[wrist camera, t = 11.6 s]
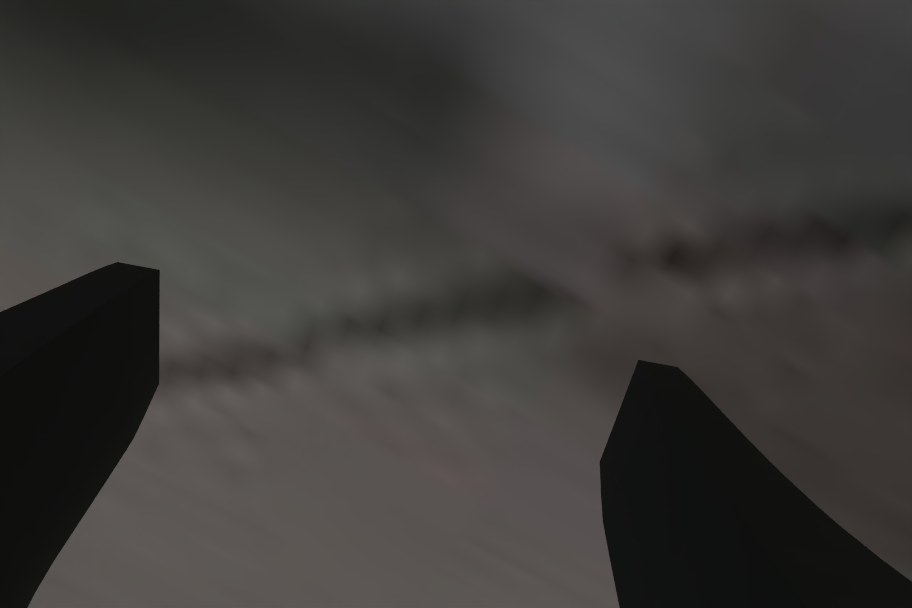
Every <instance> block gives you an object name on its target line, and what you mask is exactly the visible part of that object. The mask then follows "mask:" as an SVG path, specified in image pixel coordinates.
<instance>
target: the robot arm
mask: <svg viewBox="0 0 912 608" xmlns="http://www.w3.org/2000/svg"><path fill="white" fill-rule="evenodd" d="M159 275H160V270H156V269H151V268H146V267H141V266H135V265H130V264H125V263H119V262H117V263H114V264H111V265H108V266H105V267H103V268H100V269H98V270H95V271H93V272H90V273H88V274H86V275H84V276H81V277H79V278H77V279H74V280H72V281H70V282H68V283H65V284H63V285H61V286H59V287H57V288H54V289H52V290H50V291H48V292H45V293H43V294H41V295H38V296H36V297H34V298H32V299H29V300H27V301H25V302H23V303H20V304H18V305H16V306H13V307H11V308H9V309H7V310H4V311H2V312H0V608H27V607H28V605H29V603H30V601H31V600H32V598H33V596H34V594H35V592H36V590H37V588H38V587H39V585H40V583H41V582H42V580H43V578H44V577H45V575H46V573H47V571H48V570H49V568H50V566H51V565H52V563H53V561H54V560H55V558H56V557H57V555H58V554H59V552H60V551H61V549H62V548H63V546H64V545H65V543H66V542H67V540H68V539H69V537H70V536H71V534H72V532H73V531H74V529H75V528H76V526H77V525H78V523H79V522H80V520H81V519H82V517H83V516H84V514H85V513H86V511H87V510H88V508H89V507H90V505H91V504H92V502H93V500H94V499H95V497H96V496H97V494H98V493H99V491H100V490H101V488H102V487H103V485H104V484H105V482H106V481H107V479H108V478H109V476H110V474H111V473H112V471H113V470H114V468H115V467H116V465H117V464H118V462H119V460H120V459H121V457H122V456H123V454H124V453H125V451H126V450H127V448H128V446H129V445H130V443H131V442H132V440H133V438H134V436H135V434H136V432H137V430H138V428H139V426H140V424H141V422H142V420H143V417H144V415H145V413H146V411H147V409H148V407H149V404H150V402H151V400H152V398H153V395H154V393H155V391H156V389H157V387H158V384H159ZM600 478H601V499H602V514H603V524H604V529H605V535H606V540H607V545H608V551H609V556H610V561H611V566H612V571H613V576H614V581H615V586H616V591H617V596H618V601H619V606H620V608H912V581H910V580H909V579H907V578H906V577H905V576H903V575H902V574H901V573H899V572H898V571H897V570H895V569H894V568H892V567H891V566H890V565H888V564H887V563H886V562H884V561H883V560H882V559H881V558H879V557H878V556H877V555H875V554H874V553H873V552H872V551H871V550H869V549H868V548H867V547H866V546H864V545H863V544H862V543H861V542H859V541H858V540H857V539H856V538H854V537H853V536H852V535H851V534H849V533H848V532H847V531H846V530H844V529H843V528H842V527H841V526H839V525H838V524H837V523H836V522H835V521H834V520H832V519H831V518H830V517H829V516H828V515H827V514H825V513H824V512H823V511H822V510H821V509H820V508H819V507H817V506H816V505H815V504H814V503H813V502H812V501H811V500H810V499H809V498H808V497H807V496H806V495H805V494H803V493H802V492H801V491H800V490H799V489H798V488H797V487H796V486H795V485H794V484H793V483H792V482H790V481H789V480H788V479H787V478H786V477H785V476H784V475H783V474H782V473H781V472H780V471H779V470H778V469H777V468H776V467H775V466H774V465H773V464H772V463H771V462H770V461H769V460H768V459H767V458H766V457H765V456H764V455H763V454H762V453H761V452H760V451H759V450H758V449H757V448H756V447H755V446H754V445H753V444H752V443H751V442H750V441H749V440H748V439H747V438H746V437H745V436H744V435H743V434H742V433H741V432H740V430H739V429H738V428H737V427H736V426H735V425H734V424H733V423H732V422H731V421H730V420H729V419H728V418H727V417H726V416H725V415H724V414H723V413H722V411H721V410H720V409H719V408H718V407H717V406H716V405H715V404H714V403H713V402H712V401H711V400H710V399H709V398H708V397H707V396H706V395H705V394H704V392H703V391H702V390H701V389H700V388H699V387H698V386H697V385H696V384H695V383H694V382H693V381H692V380H691V379H690V378H689V377H688V376H687V375H686V374H685V373H683V372H682V371H681V370H680V369H679V368H678V367H673V366H668V365H663V364H657V363H652V362H647V361H641V360H638V363H637V365H636V368H635V371H634V373H633V376H632V379H631V381H630V384H629V387H628V389H627V392H626V394H625V397H624V400H623V402H622V405H621V408H620V410H619V413H618V415H617V418H616V421H615V423H614V426H613V429H612V431H611V434H610V437H609V439H608V442H607V444H606V447H605V450H604V452H603V455H602V458H601V460H600Z"/></svg>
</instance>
